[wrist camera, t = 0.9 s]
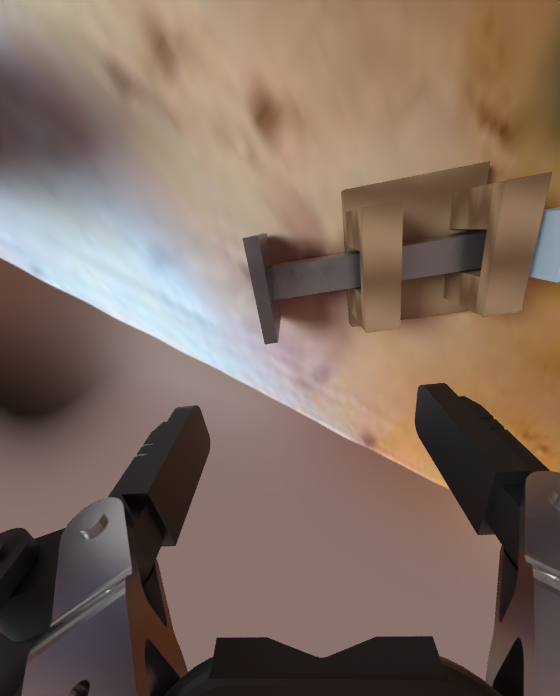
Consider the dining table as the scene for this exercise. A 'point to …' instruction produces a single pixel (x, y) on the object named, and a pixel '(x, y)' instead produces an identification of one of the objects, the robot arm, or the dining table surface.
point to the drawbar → (349, 270)
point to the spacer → (547, 248)
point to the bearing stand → (437, 220)
